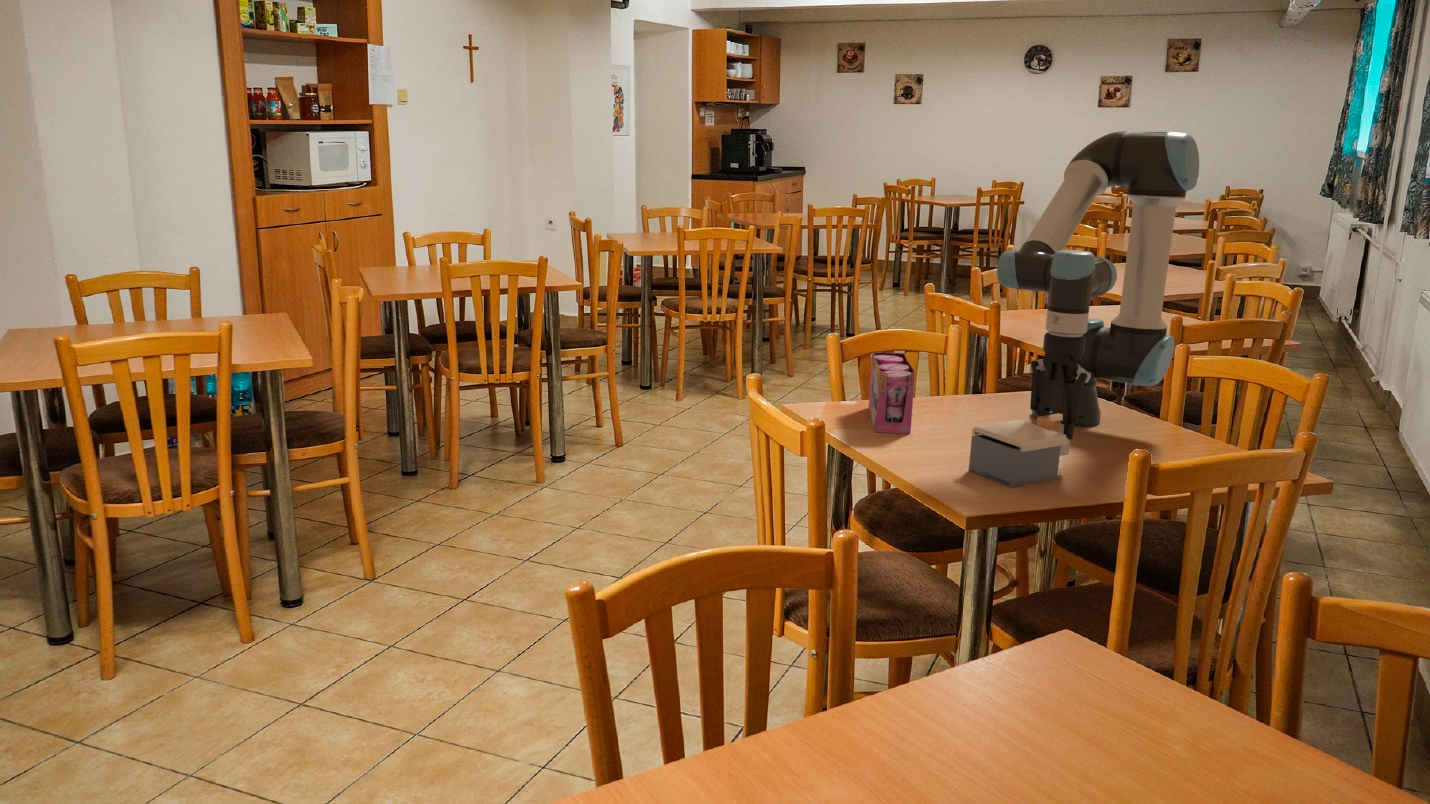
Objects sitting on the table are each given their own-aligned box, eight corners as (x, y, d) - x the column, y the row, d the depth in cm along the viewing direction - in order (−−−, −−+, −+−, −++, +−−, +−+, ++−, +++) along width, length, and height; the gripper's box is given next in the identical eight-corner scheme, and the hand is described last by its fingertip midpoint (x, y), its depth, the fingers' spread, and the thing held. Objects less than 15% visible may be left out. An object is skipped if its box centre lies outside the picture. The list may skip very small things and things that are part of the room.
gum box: (912, 436, 226) (917, 374, 223) (875, 434, 227) (879, 372, 223) (901, 409, 249) (905, 352, 246) (867, 407, 250) (871, 351, 247)
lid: (1039, 427, 212) (1041, 408, 211) (1091, 444, 201) (1094, 423, 200) (971, 438, 203) (973, 418, 202) (1022, 456, 192) (1024, 435, 191)
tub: (1013, 463, 209) (1017, 429, 207) (1057, 478, 199) (1061, 443, 198) (968, 470, 203) (971, 435, 201) (1010, 487, 193) (1014, 450, 192)
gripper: (1017, 327, 205) (1006, 442, 211) (1087, 342, 191) (1073, 466, 196) (1045, 324, 209) (1033, 438, 214) (1115, 339, 194) (1101, 461, 200)
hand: (1052, 451), depth 205 cm, fingers closed on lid, 4 cm apart
